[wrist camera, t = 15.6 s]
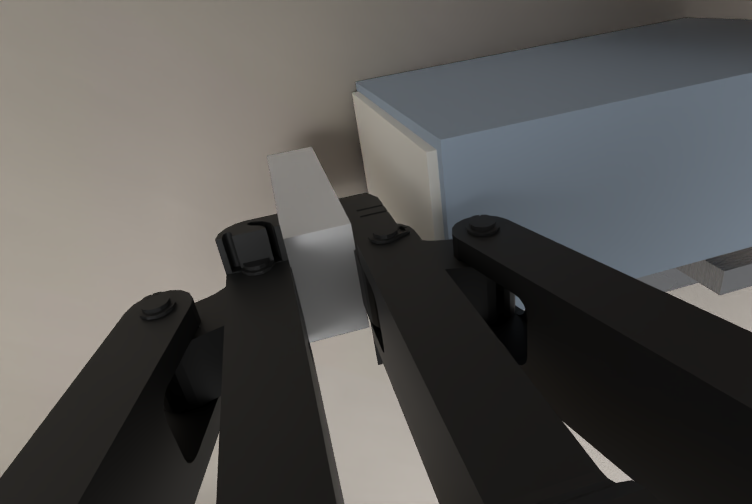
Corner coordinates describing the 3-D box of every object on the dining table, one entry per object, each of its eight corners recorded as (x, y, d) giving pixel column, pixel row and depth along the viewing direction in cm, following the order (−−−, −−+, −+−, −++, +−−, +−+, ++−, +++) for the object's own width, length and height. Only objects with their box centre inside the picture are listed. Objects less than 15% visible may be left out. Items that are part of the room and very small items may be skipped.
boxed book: (348, 83, 18) (428, 142, 11) (686, 17, 20) (963, 26, 13) (369, 206, 21) (447, 330, 13) (669, 137, 23) (894, 207, 15)
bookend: (598, 201, 23) (724, 271, 17) (745, 164, 25) (911, 218, 18) (591, 306, 26) (697, 397, 20) (722, 268, 27) (861, 345, 21)
